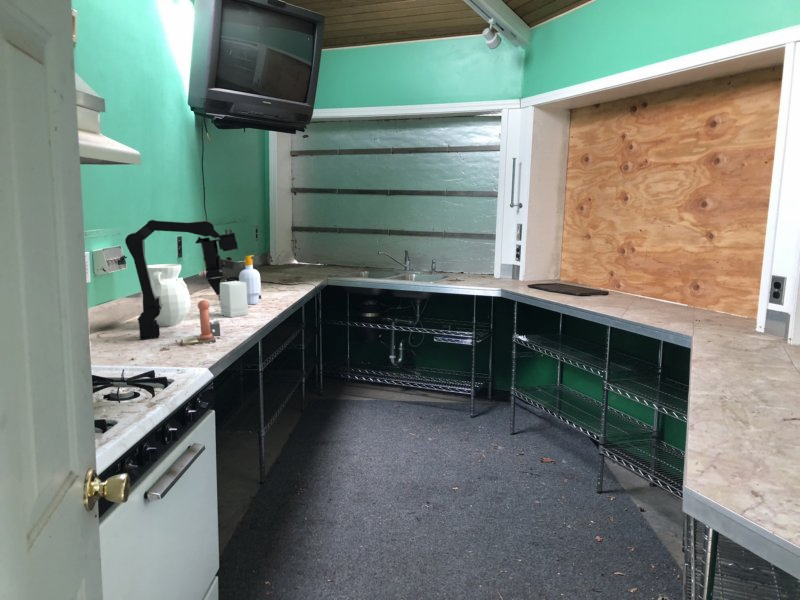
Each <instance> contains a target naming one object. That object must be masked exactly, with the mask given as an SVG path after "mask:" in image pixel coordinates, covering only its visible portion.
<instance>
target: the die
mask: <svg viewBox="0 0 800 600" xmlns="http://www.w3.org/2000/svg"><path fill="white" fill-rule="evenodd" d="M210 333H212V336H220V337H221V325H220V322H219V321H210Z"/></svg>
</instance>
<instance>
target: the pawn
mask: <svg viewBox="0 0 800 600" xmlns="http://www.w3.org/2000/svg"><path fill="white" fill-rule="evenodd" d="M197 309H198V311H199V322H200V324H199V325H200V334H199V337H200V339H201V340H208V339H212V338H213V337H212V333H210V322H211V321H210V302H208V300H204V299H203V300H200V301H199V302H198V303H197Z"/></svg>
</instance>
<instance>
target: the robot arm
mask: <svg viewBox="0 0 800 600" xmlns="http://www.w3.org/2000/svg"><path fill="white" fill-rule="evenodd" d="M156 231H158V232H174V233H175V232H177V233H189V234H194V235H197V236H198V238H197V239H196V241H195V243H194V244H200V245H201V252H202V256H203V261H204V268H205V279H206V281H207V282H208V284H209V285H210V286H211V288H212V290H213V291H214V293H215V294H216V296H220V283H221V281H222V279H224V270H223V268H224V269H225V268H226V269H230V270H233V271H234V270H235V268H236V263H237V262H236V260H233V258H232V257H231V256H227V257H226V258H221V255H220V254H219V250H222V251H223V253H224V252H230V251H232V252H233V251H238V250H239V248H238V241H237V239H236V234H235V232H230V233H225V234H224V233H222V234H220V232H217V230H215V226H214V224H213V223H212V222H211V221H208V220H200V221H198V220H197V221H192V222H187V221H185V222H183V221H169V220H168V221H167V220H156V219H150V220H148V221H147V223H146V224H145V225H143V226H142V227H141V228H139V230H137V231H136V232H131V233H130V234H127V236H126V237H125V240H124V242H125V245H126V248H127V250H128V252H129V253H130V255H131V257H132V259H133V262H134V266H135V269H136V274H137V278H138V282H139V286H140V289H141V295H142V301H143V302H142V312H141V313H140V314H139V316H138V317H137V321H138V331H139V340H150V338H152V339H157V338H160V334H161V333H160V332H161V331H160V326H159V324H157V320H155V318H156V317H158V315H159V314H160V312H161V308H162V306H163V305H162V304H161V299H160V296H158V297H156V295H155V293H154V291H153V287H152V283H151V277H150V275H149V271H148V267H147V266H148V264H147V259H146V245H145V240H146V239H147V238H149V236H150V235H152V234H153V233H154V232H156ZM201 236H202V237H201ZM210 237H212V238H213V239H210ZM217 242H218V243H217ZM218 247H219V249H218Z"/></svg>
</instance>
